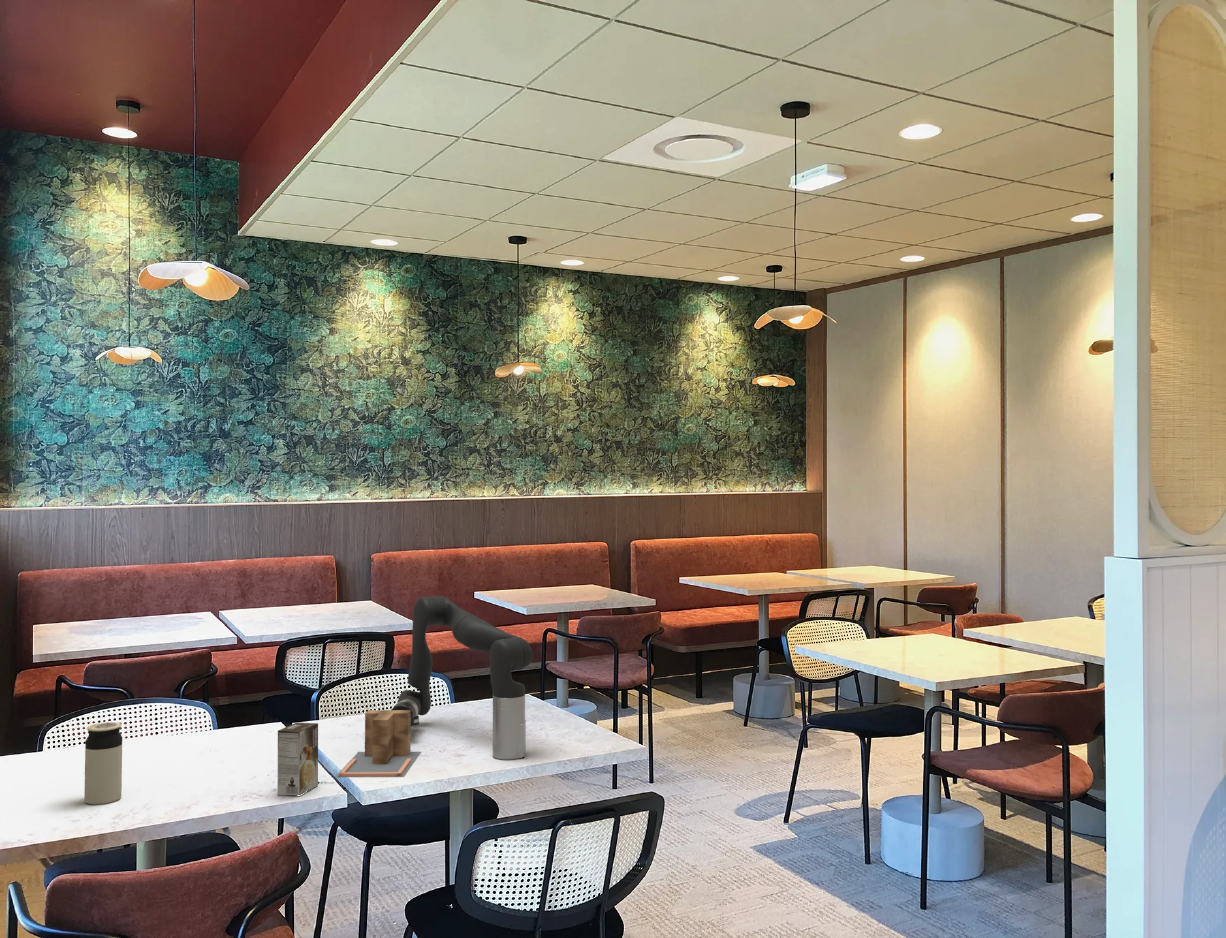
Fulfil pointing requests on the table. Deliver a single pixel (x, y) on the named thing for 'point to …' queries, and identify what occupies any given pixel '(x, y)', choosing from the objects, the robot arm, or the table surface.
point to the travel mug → (103, 763)
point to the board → (378, 766)
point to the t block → (387, 734)
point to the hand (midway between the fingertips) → (391, 727)
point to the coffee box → (297, 758)
